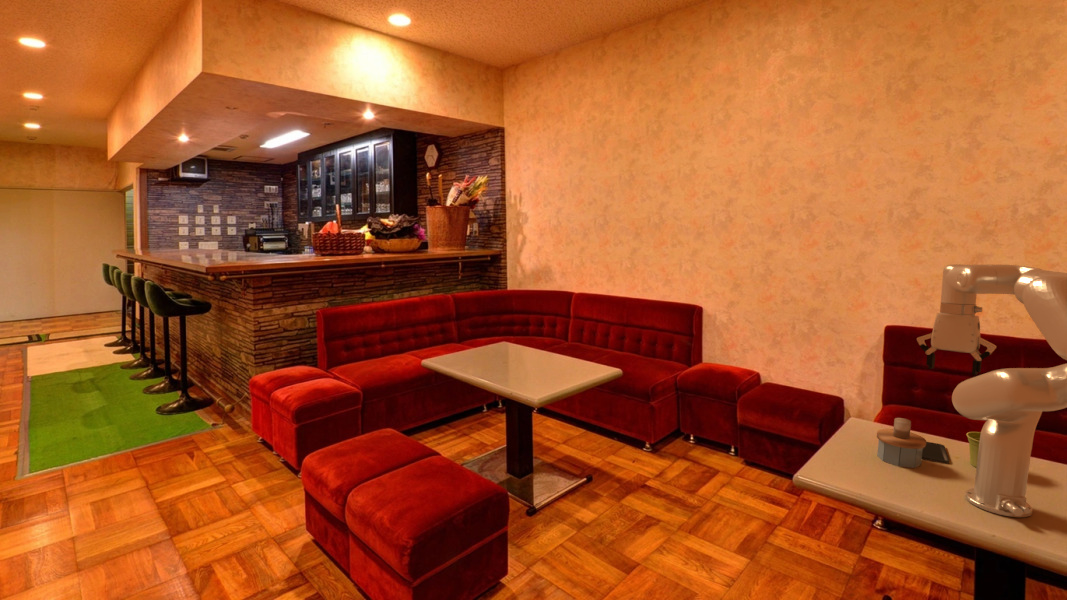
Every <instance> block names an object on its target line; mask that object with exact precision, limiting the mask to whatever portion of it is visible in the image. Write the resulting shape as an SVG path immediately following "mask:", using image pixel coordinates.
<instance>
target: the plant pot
mask: <svg viewBox="0 0 1067 600" xmlns="http://www.w3.org/2000/svg"><path fill="white" fill-rule="evenodd" d="M965 435H966V437H967V440H968V443H969V444H968V446H969V463H970V464H971V466H973V467H974V468H976V467H977V459H978V450H979V442H980V435H981V431H969V432H967V433H966V434H965Z"/></svg>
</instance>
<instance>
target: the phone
mask: <svg viewBox="0 0 1067 600" xmlns="http://www.w3.org/2000/svg"><path fill="white" fill-rule="evenodd" d="M922 461H929V462H935V463H939V464H944V465H947V464H950V458H949V456H948V453H947V450H946V447H945V445H944V444H942V443H935V442H930V441H926V447H924V448H923V451H922Z"/></svg>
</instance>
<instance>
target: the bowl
mask: <svg viewBox="0 0 1067 600" xmlns="http://www.w3.org/2000/svg"><path fill="white" fill-rule="evenodd" d="M922 451H923V448H921V449H909V448H902V447H897V446H893V445H890V444H887V443H884V442H882V441H881V440H879V439H878V445H877V457H878V458H879V459H880V460H881V461H882V462H884V463H887V464H890V465H893V466H895V467H901V468H902V467H903V468H910V469H911V468H913V469H915V468H917V467H919V466H921V465H922V461H923V459H922Z"/></svg>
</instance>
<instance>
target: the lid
mask: <svg viewBox="0 0 1067 600" xmlns="http://www.w3.org/2000/svg"><path fill="white" fill-rule="evenodd" d="M893 420H894V421H893V429H892V428H884V429H879V430H877V432H876V438H877V439H878V441H879V440H881V441H882V442H884V443H887V444H890V445H893V446H897V447H902V448H909V449H921V448H924V447H926V442H927V440H926V438H924V437H923V436H921V435H919V434H916V433H914V432H911V429H912V428H911V427H912V421H911V420H910V419H908V418H902V417H895V418H894V419H893Z"/></svg>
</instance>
